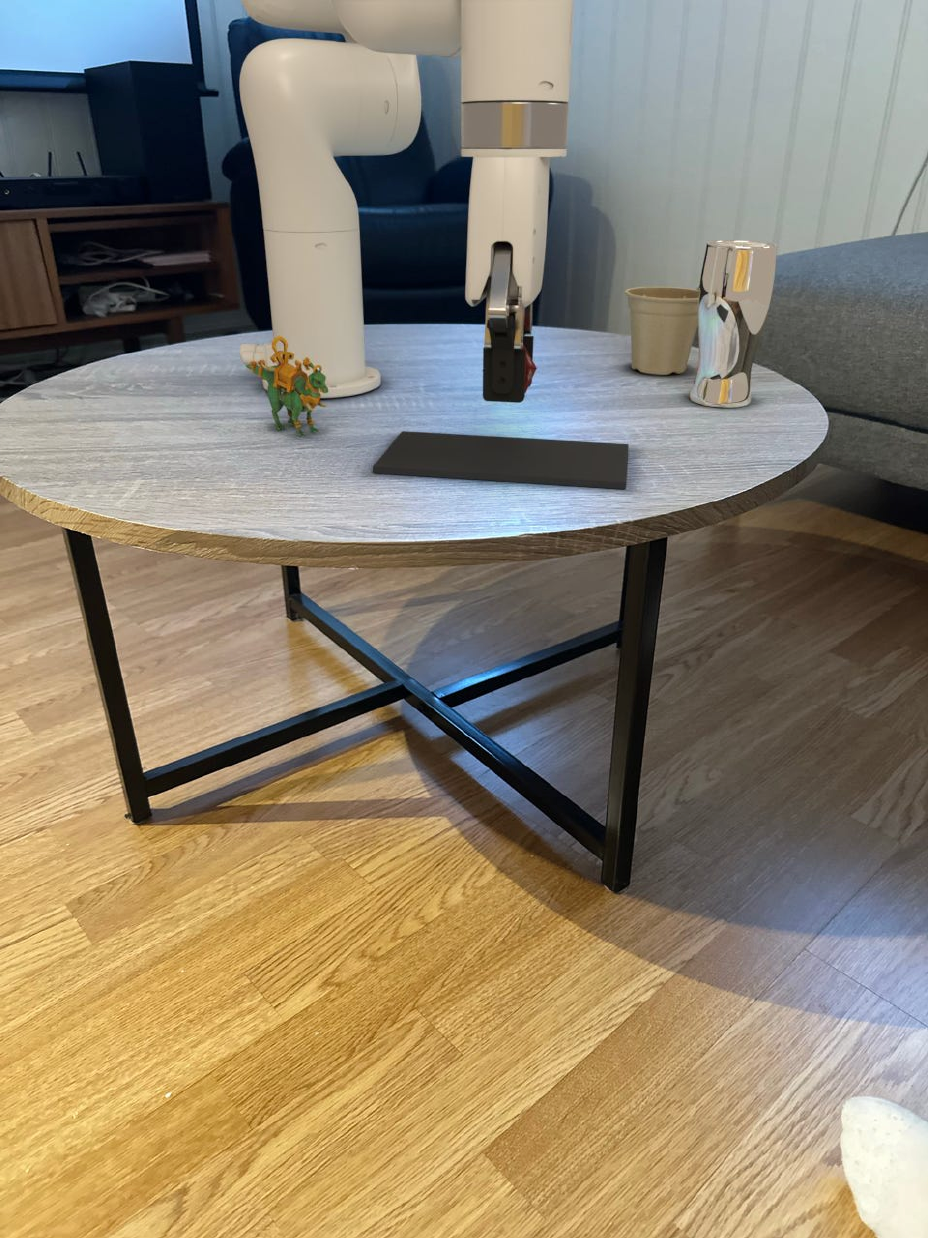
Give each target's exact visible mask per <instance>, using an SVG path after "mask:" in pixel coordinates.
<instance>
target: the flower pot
mask: <svg viewBox="0 0 928 1238" xmlns="http://www.w3.org/2000/svg"><path fill="white" fill-rule="evenodd" d="M698 292H699V289H694V288H689V287H688V288H687V287H677V286H676V287H675V286H638V287H631V288H628V289H625V290H624V294H625V296H627V307H628V308H629V315H630V316H629V317H630V340H631V341H630V346H631V347H630V349H631V369H632V370H635V371H636V370H637V371H639V372H640V373H643V374H646V375H657V376H668V375H670V374H672V373H674V374H677V375H680V374H683V373H685V372H686V370H687V367H688V363H689V358H690V355H691V352H692V347H693V344H694V339H695V337H696V332H697V330H698Z"/></svg>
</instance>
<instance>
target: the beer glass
mask: <svg viewBox="0 0 928 1238" xmlns="http://www.w3.org/2000/svg"><path fill="white" fill-rule="evenodd" d="M777 252H778V244H777V243H774V242H769V241H768V242H767V241H758V240H743V239H742V240H741V239H737V240H735V239H733V240H732V239H729V240H728V239H725V240H723V239H722V240H721V239H719V240H712V241H711V240H710V241H707V242H706V247H705V252H704V257H703V260H702V261H703V262H702V267H701V273H700V277H699V283H698V290H699V292H698V325H697V337H698V361H697V362H698V363H697V369H696V372H695V373H696V374H695V378H694V381H693V384H692V388H691V390H690V395H689V399H690V401H692V402H693V403H694V404H697V405H701V406H705V407H710V408H720V409H722V408H723V409H734V408H735V409H736V408H742V407H747V406H748V405H750V404H751V402H752V370H753V365H754V359H755V355H756V352H757V348H758V346H759V344H760V341H761V340H760V339H761V337H762V334H763V332H764V328H765V324H766V321H767V318H768V314H769V312H770V307H771V303H772V297H773V292H774V287H775V286H774V285H775V276H776V266H777V265H776V264H777V254H778V253H777Z"/></svg>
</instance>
